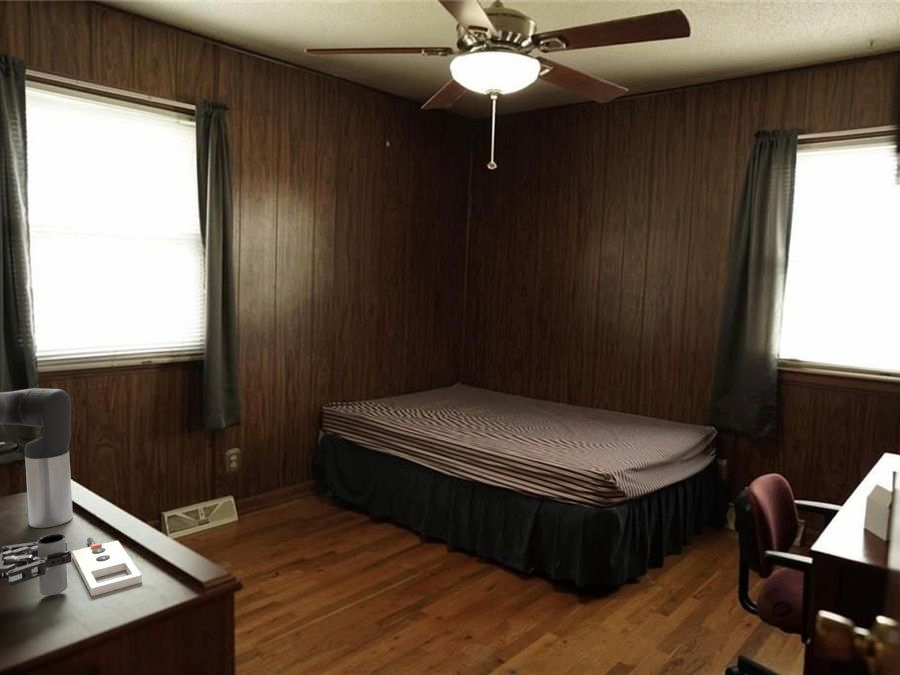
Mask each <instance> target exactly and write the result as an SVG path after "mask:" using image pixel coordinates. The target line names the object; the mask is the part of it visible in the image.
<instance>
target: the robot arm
mask: <svg viewBox="0 0 900 675" xmlns="http://www.w3.org/2000/svg"><path fill="white" fill-rule="evenodd" d="M0 425H17V426H23V427H24V426H25V427H38V428H39V427H42V435H41V437H39V438H37V439H33V440H31V441H29V442H27V443H26V444H25V446H24V461H25V475H26V476H25V477H26V493H27V507H28V508H27V509H28V525H29V526H30V527H31V528H36V529H45V528H46V529H47V528H51V527H56V526H61V525H64V524H66V523H68V522H70V521H71V520H72V519H73V516H74V514H73V496H72V480H71V479H72V478H71V477H72V476H71V462H70V460H71V459H70V441H71V438H72V403H71V398H70V396H69V394H68V393H67V391H65V390H64V389H61V388H60V389H59V388H41V387H38V388H37V387H36V388H35V387H33V388H26V389H19V390H14V391H5V392H0ZM37 542H38V541H34V542H25V543H20V544H19V543H18V544H10V545H4V546H1V552H0V581H6V580H7V581H8V586H9V587H12V586H15V585H19V584H22V583H23V582H27V581H30V580H32V579H35V578H39V576H42V575H44V574H46V570H48V567H54V566H58V565H62V564H70V563H71V562H72V551H70V550H68V545H67V543H66V551H64V552H59V553H55V554H50V555H48V556H38V543H37Z"/></svg>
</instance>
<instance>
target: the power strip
mask: <svg viewBox="0 0 900 675" xmlns="http://www.w3.org/2000/svg"><path fill="white" fill-rule="evenodd" d="M86 542H87V544H88V545H89V546H88V547H84V548H80V549H79V548H78V549H76V550H72V551H71V559H72V560H73V562H74V564H75V566H76V568H77V570H78V572H79V574H80V576H81V577H82V580H83V582H84V584H85V586H86V588H87V589H88V590H87V591H88V592H89V593H90V595H91V597H95V596H99V595H102V594H105V593H109V592H112V591H115V590H119V589H123V588H126V587H131V586H134V585H138V584H141V583H143V578H142V576H143V574H142V573H141V572H140V570H139V569H138V568H137V566H136V565H135V563H134V562H133V560H132V559H131V558H130V556H129V554H128V553H127V552H126V550H125V549H124V547H123V546H122V544H121V543H120V541H119V540H113V541H109V542H105V543H101V542H98V543H97V542H95V541H94V539H93V537H88V538H87V539H86ZM122 571H126V573H127V574H128V575H125V576H121V577H116V578H114V579H109V580H106V581H102V582H97V580H96V578H100V577H103V576H108V575H112V574H115V573H119V572H122Z"/></svg>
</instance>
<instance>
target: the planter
mask: <svg viewBox="0 0 900 675" xmlns="http://www.w3.org/2000/svg"><path fill="white" fill-rule="evenodd" d="M36 542H37V543H38V556H48V555H50V554H55V553H59V552H64V551H66V544H67V541H66V535H64V534H63V533H62V534H61V533H53V534H47V535H44V536H43V537H42V536H41V537H40V538H39V539H38V540H37V541H36ZM67 564H68V563H66V564H62V565H58V566H54V567H48V570H46V574H44V575H42V576H39V577H38V582H39V583H38V584H39V593H40V594H41V595H42V596H54V595H57V594H61V593H63V592H64V591H65V590H67V589H68V570H67V569H68V567H67V566H68V565H67Z"/></svg>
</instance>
